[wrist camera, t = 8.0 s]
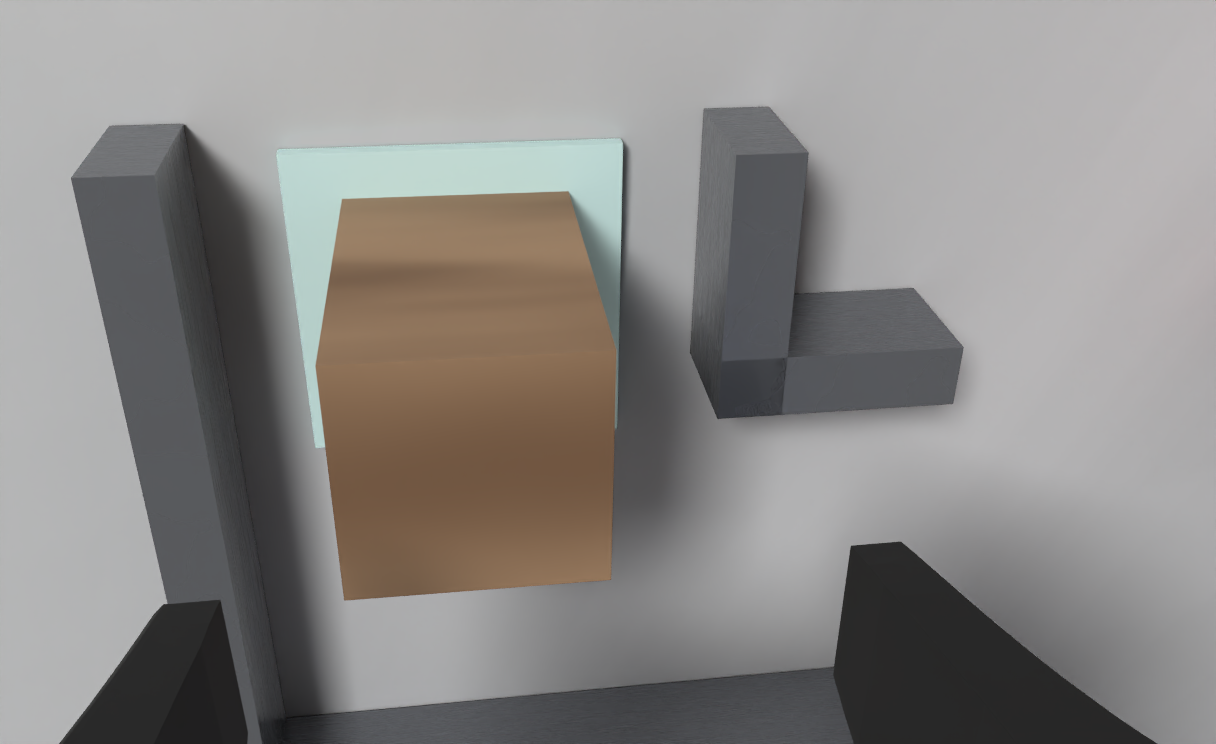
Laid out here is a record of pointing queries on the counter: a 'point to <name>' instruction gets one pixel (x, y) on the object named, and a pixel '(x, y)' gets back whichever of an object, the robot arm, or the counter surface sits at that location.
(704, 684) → the grey flat frame
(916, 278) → the counter surface
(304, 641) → the counter surface
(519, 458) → the walnut block
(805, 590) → the counter surface
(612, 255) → the pad
